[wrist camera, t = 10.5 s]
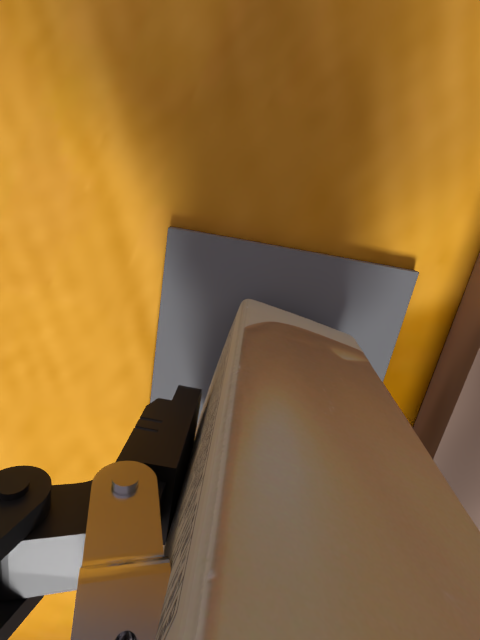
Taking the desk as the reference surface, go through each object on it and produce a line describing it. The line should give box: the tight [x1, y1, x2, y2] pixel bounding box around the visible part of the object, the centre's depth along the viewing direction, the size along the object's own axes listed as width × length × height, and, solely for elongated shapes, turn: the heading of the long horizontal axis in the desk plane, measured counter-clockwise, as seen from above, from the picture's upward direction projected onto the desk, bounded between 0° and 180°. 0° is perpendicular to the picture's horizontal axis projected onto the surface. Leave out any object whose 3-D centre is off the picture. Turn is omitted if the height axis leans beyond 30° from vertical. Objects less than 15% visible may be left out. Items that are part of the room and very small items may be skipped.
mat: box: [150, 227, 419, 424], centre depth 15 cm, size 9×10×1 cm
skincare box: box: [155, 299, 480, 640], centre depth 9 cm, size 6×4×12 cm
